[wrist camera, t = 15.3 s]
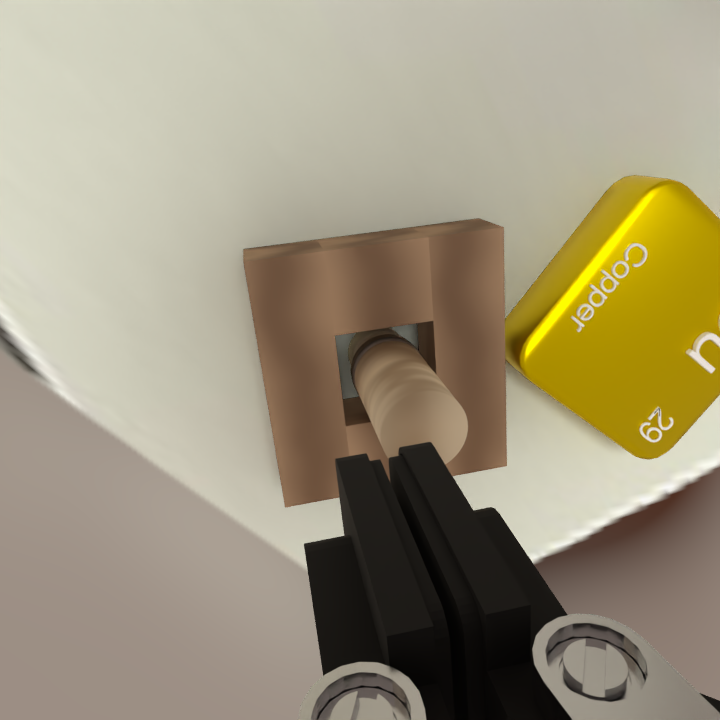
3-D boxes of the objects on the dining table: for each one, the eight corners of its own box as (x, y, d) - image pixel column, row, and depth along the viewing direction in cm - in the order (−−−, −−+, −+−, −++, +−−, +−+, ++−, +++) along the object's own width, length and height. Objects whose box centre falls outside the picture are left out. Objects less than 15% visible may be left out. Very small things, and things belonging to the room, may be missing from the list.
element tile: (625, 161, 40) (673, 165, 36) (756, 287, 45) (812, 304, 41) (482, 343, 43) (510, 367, 38) (620, 442, 48) (659, 474, 43)
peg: (406, 315, 40) (467, 383, 29) (410, 377, 42) (470, 464, 31) (339, 325, 40) (375, 398, 29) (346, 387, 42) (384, 480, 30)
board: (478, 218, 39) (503, 227, 35) (484, 438, 45) (506, 465, 41) (243, 249, 37) (243, 262, 33) (281, 475, 43) (285, 507, 39)
